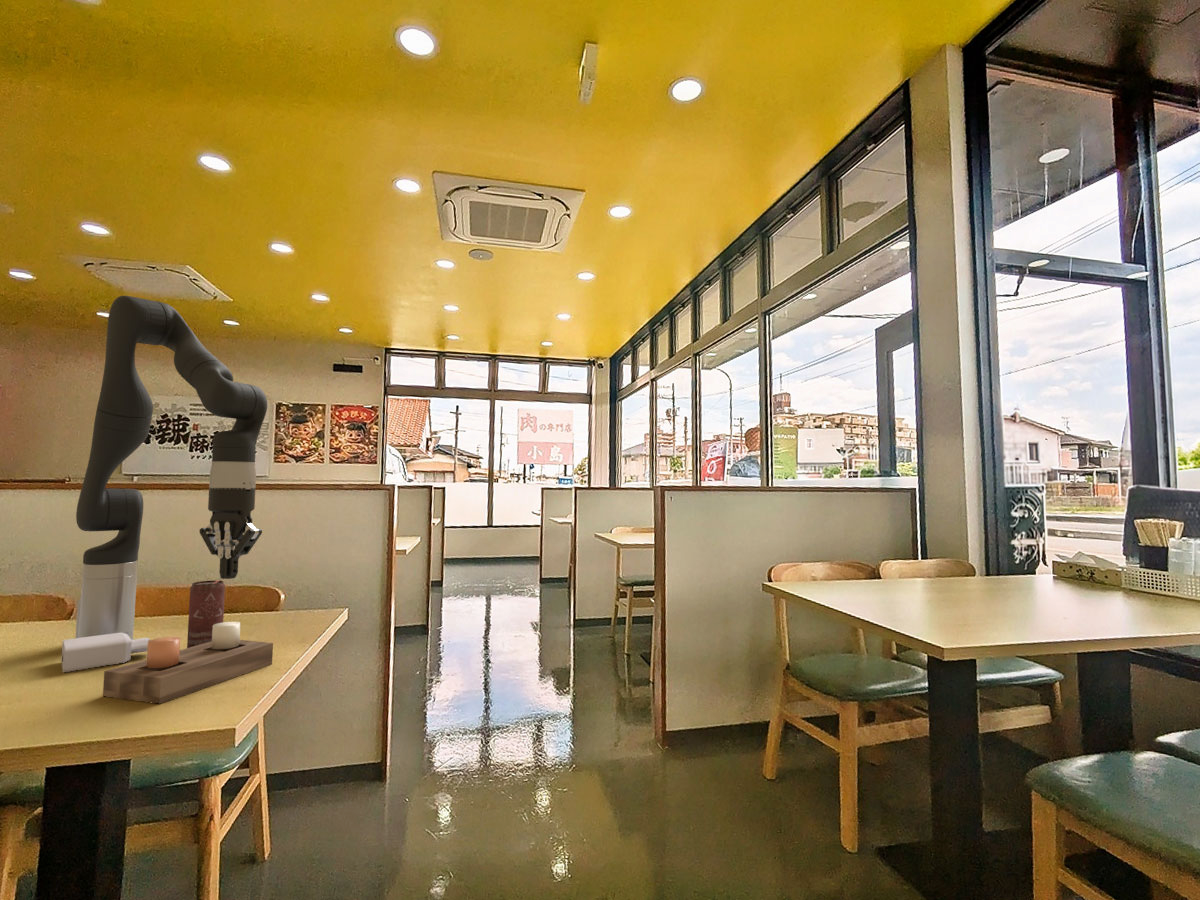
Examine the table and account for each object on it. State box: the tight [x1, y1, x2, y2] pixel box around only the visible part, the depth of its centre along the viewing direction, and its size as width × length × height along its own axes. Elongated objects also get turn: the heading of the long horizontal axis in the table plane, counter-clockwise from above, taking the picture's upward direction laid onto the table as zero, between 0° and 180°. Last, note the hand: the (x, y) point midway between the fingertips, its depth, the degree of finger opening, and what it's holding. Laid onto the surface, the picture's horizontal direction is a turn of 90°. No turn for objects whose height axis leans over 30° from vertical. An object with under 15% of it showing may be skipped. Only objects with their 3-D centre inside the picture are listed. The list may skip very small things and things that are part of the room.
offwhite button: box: [212, 621, 241, 649], centre depth 111 cm, size 4×4×4 cm
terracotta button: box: [146, 636, 181, 668], centre depth 99 cm, size 4×4×4 cm
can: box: [186, 579, 226, 648], centre depth 123 cm, size 6×6×14 cm
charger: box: [60, 633, 150, 674], centre depth 115 cm, size 5×9×15 cm
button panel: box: [102, 639, 274, 705], centre depth 105 cm, size 12×22×4 cm, turn 165°
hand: (228, 578), depth 111 cm, fingers closed
